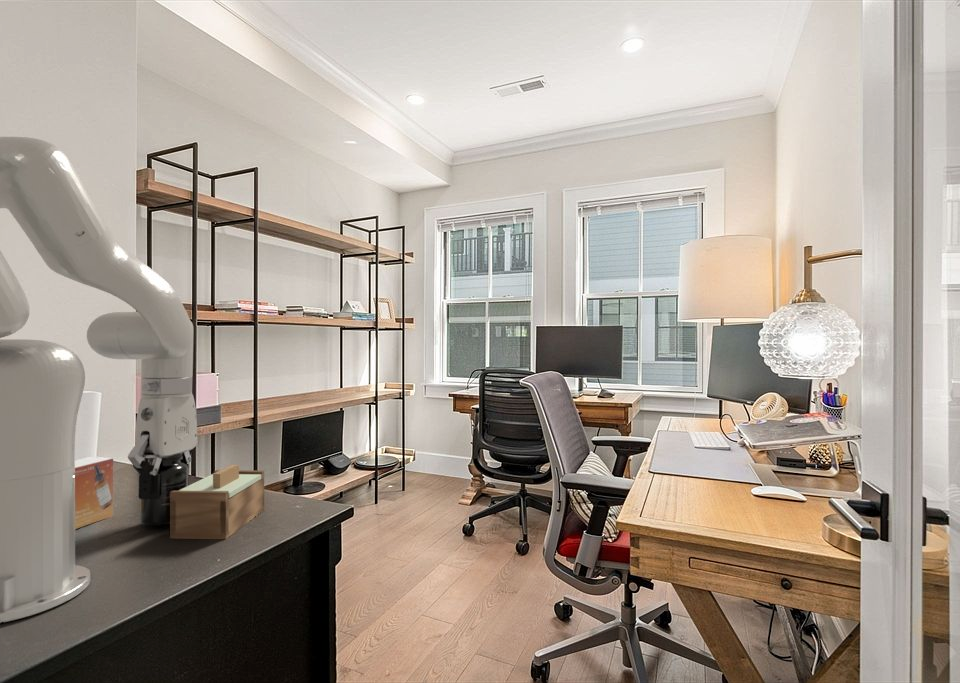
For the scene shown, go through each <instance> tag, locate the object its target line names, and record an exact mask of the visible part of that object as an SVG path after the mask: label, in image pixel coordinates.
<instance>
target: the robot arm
mask: <svg viewBox="0 0 960 683" xmlns="http://www.w3.org/2000/svg"><path fill="white" fill-rule="evenodd" d="M0 209H7V210H8V211H9V213H10V214H11V216H12V217H13V218H14V219H15V220H16V222H17V224H18V225H19V226H20V228H21V229H22V231H23V232H24V234H25V235H26V236H27V238H28V239H29V241H30V242H31V244H32V245H33V246H34V248H35V250H36V252H37V253H38V254H39V256H40V257H41V259H42V260H43V262H44V263H45V265H46V266H47V267H48V268H49V269H50V270H52V271H53V272H54V273H56V274H58V275H60V276H62V277H65V278H67V279H70V280H72V281H74V282H78V283H80V284H83V285H85V286H88V287H91V288H94V289H96V290H100V291H103V292H104V293H107V294H110V295H112V296H114V297H116V298H118V299H119V300H121V301H123V302H124V303H126V304H127V305H129V306H130V307H132V308H133V310H135V311H115V312H108V313H105V314H102V315H99V316H97V317H96V318H95V319H93V320H92V322H90V324H89V325H88V328H87V330H86V340H87V342H88V345H89V347H90V348H91V350H93V351H94V352H95V353H96V354H98V355H100V356H102V357H104V358H106V359H112V360H141V365H140V366H141V368H140V370H141V371H140V399H139V403H138V407H137V408H138V409H137V415H136V419H135V420H136V421H135V430H134V431H135V432H134V446H133V447H132V449H131V450H130V452H129V453H128V454H127V460H129V462H130V463H131V465H132V467H133V469H134V470H135V471H136V472H135V473H136V475H137V476H138V499H140V500H141V499H158V498H159V497H160V474H157V472H158V469H159V466H160V463H161V460H162V458H166V457H170V456H173V455H177V454H180V453H182V456H183V457H182V459H181V462H183V463H184V464H186V465H187V467H188V485H190V484H189V481H190V480H189V479H190V477H189V476H190V463H191V462H192V457H191V456H192V455H193V452H194V448H196V446H197V445H198V428H197V427H198V421H197V408H196V402H195V398H194V394H193V376H194V375H193V371H194V370H193V368H194V366H193V365H194V331H195V330H194V324H193V322H192V321H191V319H190V317H189V314H188V312H187V309H186V308H185V307H184V306H185V305H183V302H182V301H181V298H180V297H179V295H178V293H177V292H176V290H175V289H174V287H172V286H171V284H170V283H169V282H168V281H167V280H166V279H165V278H164V277H162V276H161V275H160V274H158V273H157V272H156V271H155V270H153V269H152V267H150V266H148V265H147V264H146V263H144V262H143V261H142V260H140V258H137V257H136V256H135V255H133V254H131V253H130V252H128V251H127V250H125V249H124V248H122V247H121V246H120V245H119V244H118V242H117V241H116V239H115V238H114V236H113V234H112V232H111V230H110V228H109V227H108V225H107V223H106V221H105V220H104V218H103V217H102V215H101V213H100V211H99V209H98V208H97V206H96V204H95V202H94V201H93V199H92V197H91V196H90V194H89V191H88V189H87V188H86V187H85V185H84V183H83V181H82V179H81V178H80V176H79V174H78V172H77V170H76V169H75V167H74V166H73V164H72V161H70V159H69V158H68V156H67V155H66V154H65V153H64V152H63V151H62V150H61V149H60V148H59V147H57V146H56V145H54V144H53V143H51V142H48V141H46V140H43V139H39V138H34V137H28V136H27V137H23V136H0ZM29 304H30V303H29V301H28V298H27V296H26V293H25V290H24V289H23V287H22V285H21V283H20V282H19V280H18V278H17V276H16V274H15V272H14V271H13V269H12V268H11V266H10V264H9V263H8V261H7V258H5V256H4V254H3V253H2V251H1V250H0V624H1V623H2V622H3V623H7V622H12V621H16V620H20V619H23V618H26V617H27V618H28V617H31V616H35V615H36V614H40V613H43V612H45V611H48V610H50V609H53V608H55V607H57V606H60V605H62V604H64V603H66V602H67V601H69V600H72V599H73V598H75V597H76V596H78V595H79V594H80V593H82V592H83V591H84V590H86V588H88V586H89V585H90V583H91V578H92V577H91V571H90V569H88V568H87V567H85V566H81V565H77V564H76V529H75V460H76V459H75V458H76V457H75V456H76V455H75V454H76V431H77V430H76V429H77V421H78V416H79V415H78V414H79V410H80V405H81V402H82V398H83V394H84V389H85V385H86V384H85V383H86V371H85V368H84V365H83V363H82V362H83V361H81V359H80V358H79V356H78V355H77V354H76V353H75V352H74V351H73V350H71V349H70V348H67V347H66V346H64V345H61V344H59V343H56V342H52V341H46V340H40V339H22V338H21V339H12V338H11V339H7V338H6V339H4V338H5V337H9V336H11V335H13V334H15V333H16V332H18V331H19V330H21V329H22V328H23V327H24V326H25V325H26V324H27V322H28V320H29V317H30V305H29ZM1 338H3V339H1ZM150 453H154V455H149V454H150ZM148 460H153V463H152V466H151V465H150V462H148Z"/></svg>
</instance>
